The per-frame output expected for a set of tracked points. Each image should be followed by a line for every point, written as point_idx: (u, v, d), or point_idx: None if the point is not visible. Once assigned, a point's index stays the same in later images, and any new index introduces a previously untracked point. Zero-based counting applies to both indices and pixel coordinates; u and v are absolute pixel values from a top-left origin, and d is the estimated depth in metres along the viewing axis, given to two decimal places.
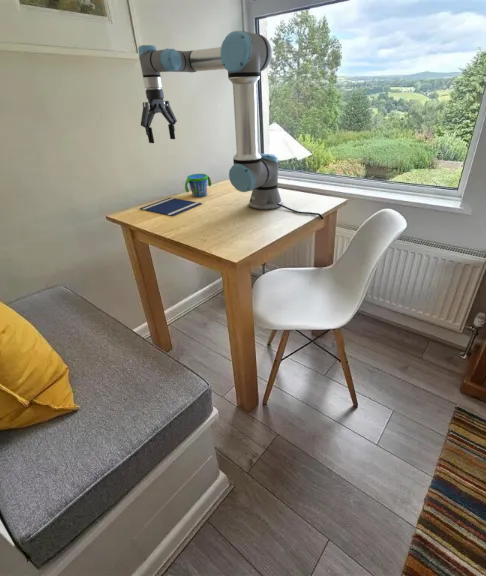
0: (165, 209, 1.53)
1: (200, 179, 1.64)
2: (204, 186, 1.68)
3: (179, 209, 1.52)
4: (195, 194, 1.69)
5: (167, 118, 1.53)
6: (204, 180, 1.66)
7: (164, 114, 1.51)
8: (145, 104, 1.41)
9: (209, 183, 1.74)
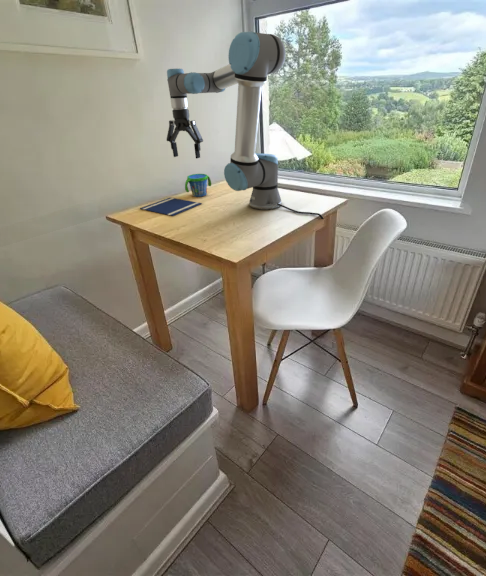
0: (165, 209, 1.53)
1: (200, 179, 1.64)
2: (204, 186, 1.68)
3: (179, 209, 1.52)
4: (195, 194, 1.69)
5: None
6: (204, 180, 1.66)
7: None
8: None
9: (209, 183, 1.74)
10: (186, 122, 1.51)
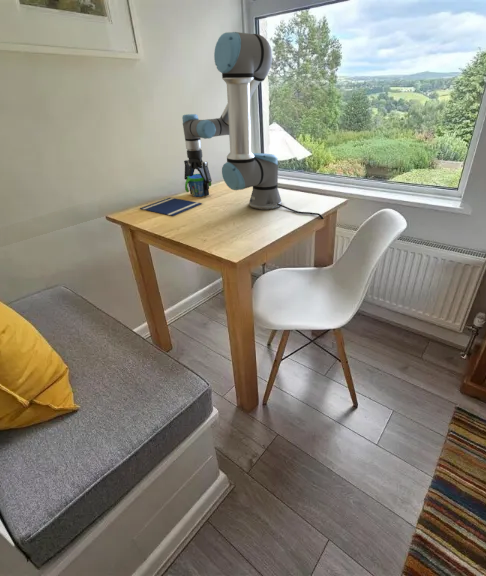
0: (165, 209, 1.53)
1: (200, 179, 1.64)
2: None
3: (179, 209, 1.52)
4: (195, 194, 1.69)
5: None
6: None
7: None
8: None
9: (209, 183, 1.74)
10: (199, 162, 1.61)
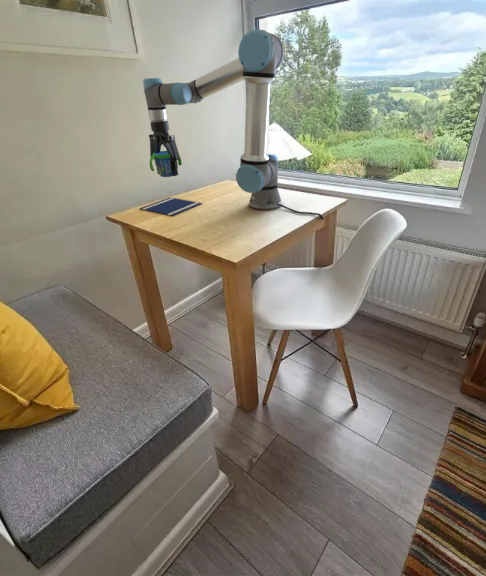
0: (165, 209, 1.53)
1: (166, 156, 1.42)
2: None
3: (179, 209, 1.52)
4: (162, 174, 1.48)
5: None
6: None
7: None
8: None
9: (179, 162, 1.53)
10: (164, 135, 1.40)
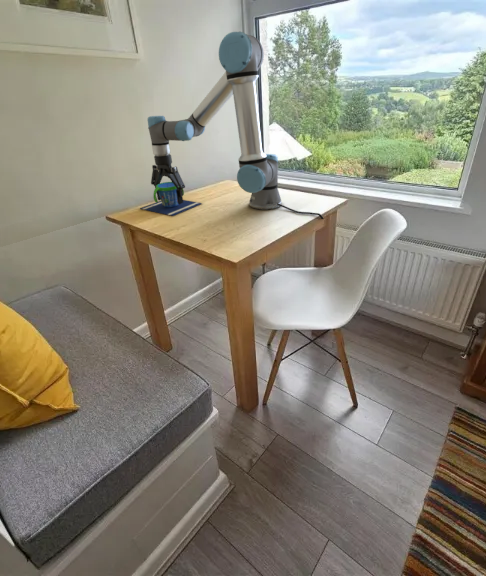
0: (165, 209, 1.53)
1: (170, 188, 1.49)
2: (175, 196, 1.53)
3: (179, 209, 1.52)
4: (165, 204, 1.54)
5: None
6: (174, 189, 1.51)
7: None
8: None
9: None
10: (168, 168, 1.46)
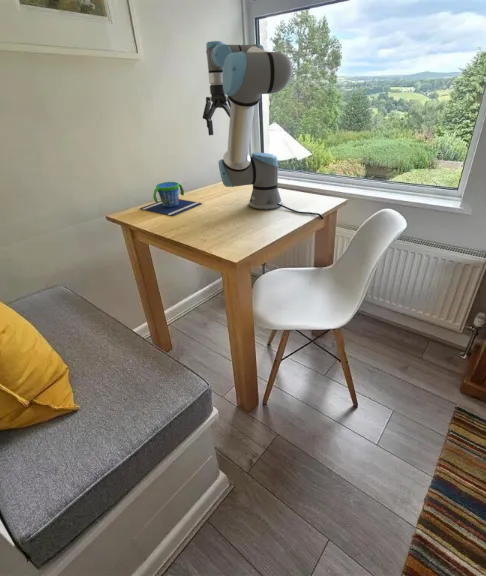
0: (165, 209, 1.53)
1: (170, 188, 1.49)
2: (175, 196, 1.53)
3: (179, 209, 1.52)
4: (165, 204, 1.54)
5: None
6: (174, 189, 1.51)
7: None
8: None
9: (181, 192, 1.59)
10: (223, 98, 1.47)
